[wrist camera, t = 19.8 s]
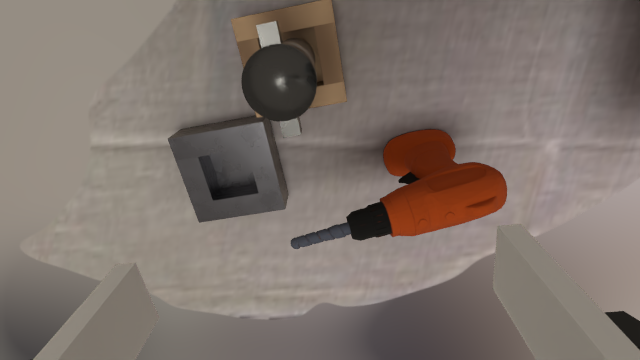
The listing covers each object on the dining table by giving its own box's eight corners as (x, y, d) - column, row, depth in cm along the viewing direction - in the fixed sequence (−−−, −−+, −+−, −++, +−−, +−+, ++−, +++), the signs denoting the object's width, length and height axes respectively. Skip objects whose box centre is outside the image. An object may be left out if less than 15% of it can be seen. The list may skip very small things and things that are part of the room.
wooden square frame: (330, 0, 34) (331, -2, 30) (345, 94, 37) (346, 101, 34) (239, 19, 34) (230, 19, 31) (262, 109, 38) (256, 117, 35)
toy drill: (281, 167, 39) (282, 239, 25) (445, 120, 39) (535, 167, 25) (294, 204, 41) (301, 291, 27) (450, 160, 41) (536, 224, 27)
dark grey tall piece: (264, 26, 34) (226, 31, 20) (310, 16, 34) (304, 14, 20) (280, 97, 37) (257, 144, 23) (324, 89, 36) (326, 132, 23)
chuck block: (268, 113, 38) (262, 121, 35) (288, 194, 42) (285, 209, 39) (180, 129, 39) (167, 138, 36) (208, 207, 43) (199, 222, 40)
